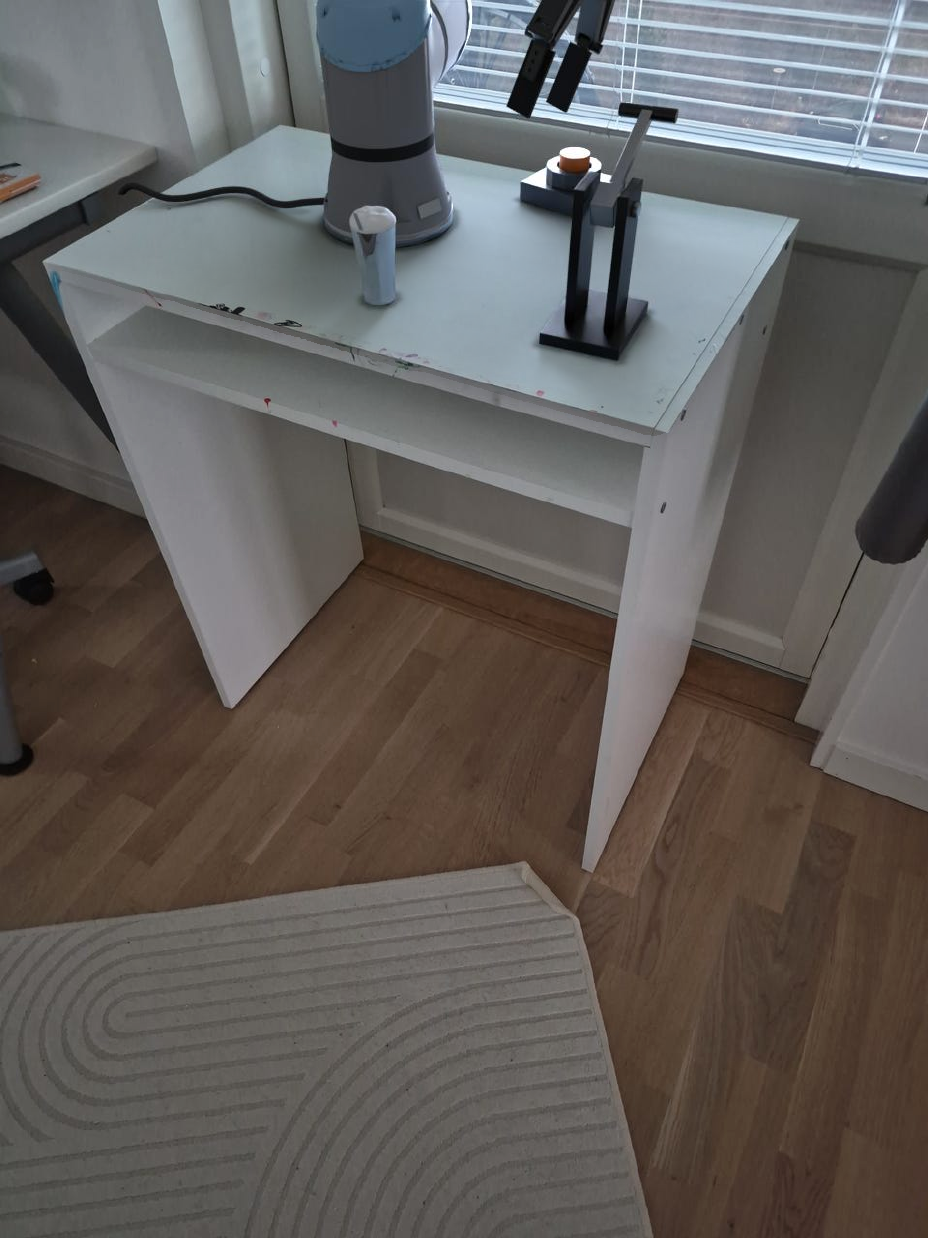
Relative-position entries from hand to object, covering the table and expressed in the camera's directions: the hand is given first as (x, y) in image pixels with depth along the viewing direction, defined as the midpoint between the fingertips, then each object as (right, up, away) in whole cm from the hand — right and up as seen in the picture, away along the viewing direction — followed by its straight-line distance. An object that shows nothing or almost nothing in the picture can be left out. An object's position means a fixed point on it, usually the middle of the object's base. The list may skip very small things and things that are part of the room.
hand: (538, 109), depth 99 cm
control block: (+5, -6, +9) cm, 12 cm away
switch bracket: (+5, -28, -12) cm, 31 cm away
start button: (+5, -3, +6) cm, 9 cm away
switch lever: (+7, -16, -18) cm, 25 cm away
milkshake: (-17, -24, -7) cm, 31 cm away
